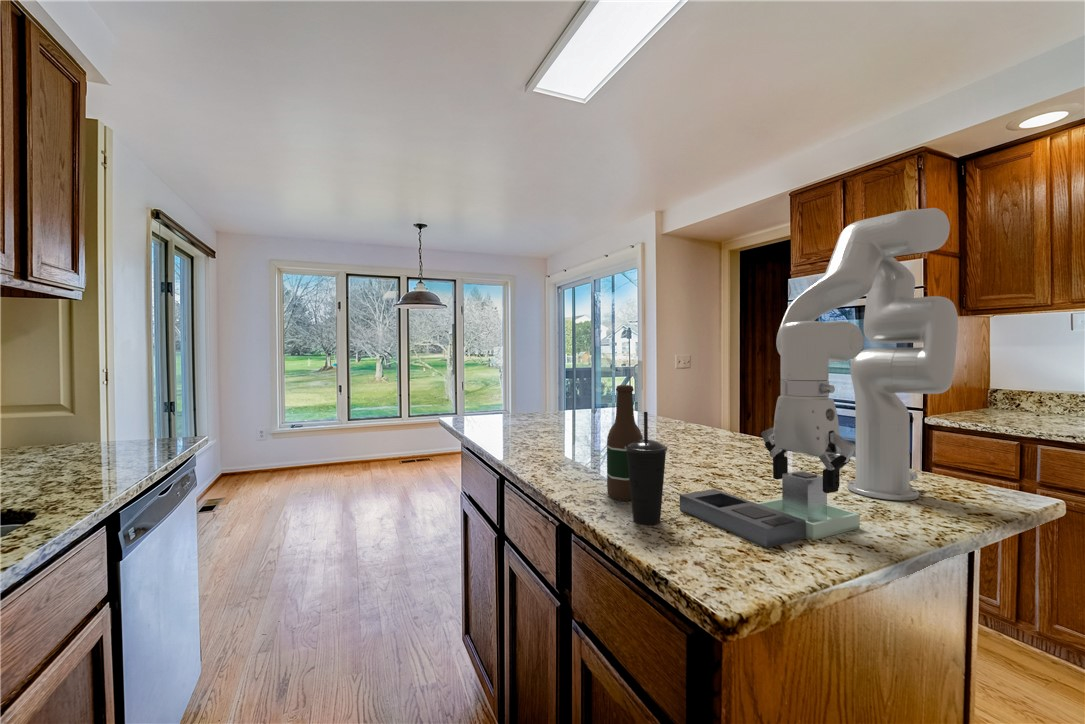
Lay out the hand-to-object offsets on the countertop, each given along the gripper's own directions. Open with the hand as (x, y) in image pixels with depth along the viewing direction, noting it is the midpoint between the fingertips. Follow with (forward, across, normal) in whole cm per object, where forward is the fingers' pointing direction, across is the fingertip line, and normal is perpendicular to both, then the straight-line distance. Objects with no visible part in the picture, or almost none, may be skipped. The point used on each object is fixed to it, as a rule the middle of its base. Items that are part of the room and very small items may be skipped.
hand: (804, 484), depth 83 cm
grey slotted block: (+7, +5, +11) cm, 14 cm away
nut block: (+6, 0, 0) cm, 6 cm away
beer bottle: (+7, +27, +20) cm, 34 cm away
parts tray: (+7, 0, 0) cm, 7 cm away
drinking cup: (+7, +13, +25) cm, 29 cm away
